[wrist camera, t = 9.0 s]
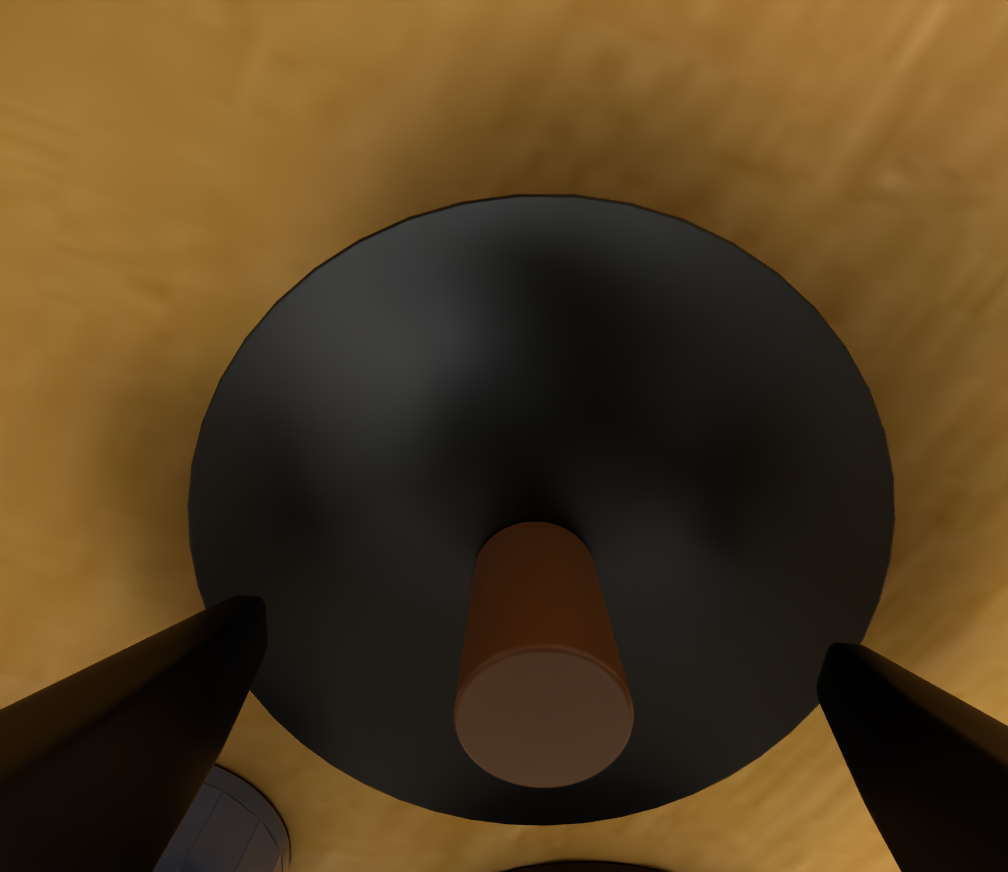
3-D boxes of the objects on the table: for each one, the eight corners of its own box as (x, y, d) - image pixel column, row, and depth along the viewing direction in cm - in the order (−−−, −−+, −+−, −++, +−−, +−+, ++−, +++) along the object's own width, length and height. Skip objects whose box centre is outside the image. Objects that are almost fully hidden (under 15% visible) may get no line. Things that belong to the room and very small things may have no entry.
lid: (772, 802, 13) (904, 1069, 9) (244, 760, 13) (105, 1004, 9) (953, 233, 9) (1378, 186, 5) (184, 174, 9) (-139, 69, 5)
